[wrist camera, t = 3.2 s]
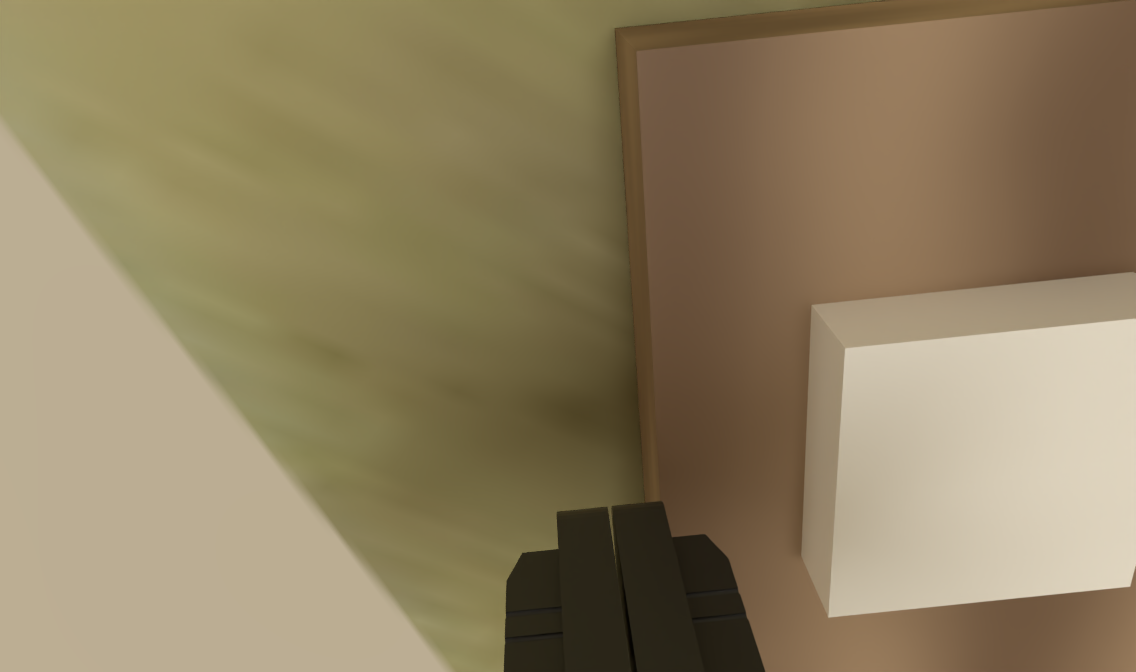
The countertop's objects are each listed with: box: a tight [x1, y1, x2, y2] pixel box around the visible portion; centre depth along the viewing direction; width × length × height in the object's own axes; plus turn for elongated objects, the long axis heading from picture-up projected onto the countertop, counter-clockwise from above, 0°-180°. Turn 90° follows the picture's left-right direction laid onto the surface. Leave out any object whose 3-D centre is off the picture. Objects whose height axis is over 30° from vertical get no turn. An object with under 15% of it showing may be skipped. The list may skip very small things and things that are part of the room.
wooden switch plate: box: [615, 0, 1136, 672], centre depth 15 cm, size 14×13×3 cm
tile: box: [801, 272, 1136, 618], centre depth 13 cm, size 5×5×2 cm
